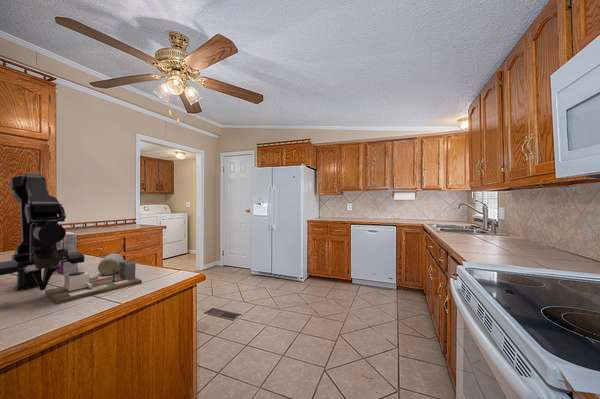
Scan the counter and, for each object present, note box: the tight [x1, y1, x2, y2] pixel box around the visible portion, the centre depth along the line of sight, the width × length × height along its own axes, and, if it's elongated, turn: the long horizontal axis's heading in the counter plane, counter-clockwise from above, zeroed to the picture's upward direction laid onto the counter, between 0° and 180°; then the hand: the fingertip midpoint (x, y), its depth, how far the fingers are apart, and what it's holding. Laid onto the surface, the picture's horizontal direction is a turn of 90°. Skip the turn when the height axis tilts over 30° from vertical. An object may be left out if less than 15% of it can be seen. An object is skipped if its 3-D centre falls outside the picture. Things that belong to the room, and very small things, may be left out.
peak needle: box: [112, 269, 116, 283], centre depth 85 cm, size 1×1×5 cm, turn 55°
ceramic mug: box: [97, 252, 125, 276], centre depth 102 cm, size 11×8×8 cm
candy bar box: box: [55, 231, 79, 276], centre depth 103 cm, size 11×5×16 cm, turn 58°
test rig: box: [44, 259, 143, 305], centre depth 85 cm, size 14×23×7 cm, turn 145°
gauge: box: [63, 270, 99, 291], centre depth 82 cm, size 10×8×5 cm
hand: (42, 290), depth 75 cm, fingers closed
